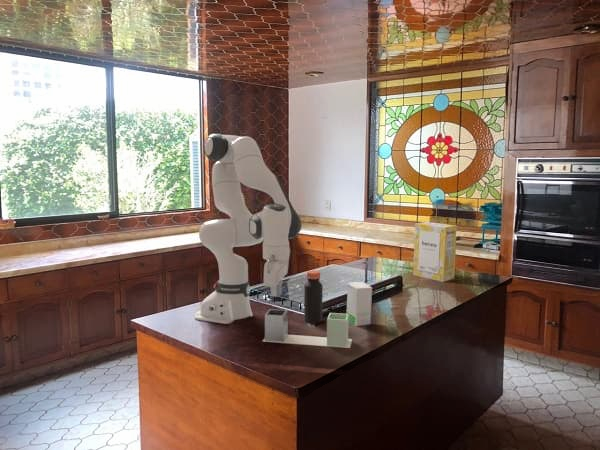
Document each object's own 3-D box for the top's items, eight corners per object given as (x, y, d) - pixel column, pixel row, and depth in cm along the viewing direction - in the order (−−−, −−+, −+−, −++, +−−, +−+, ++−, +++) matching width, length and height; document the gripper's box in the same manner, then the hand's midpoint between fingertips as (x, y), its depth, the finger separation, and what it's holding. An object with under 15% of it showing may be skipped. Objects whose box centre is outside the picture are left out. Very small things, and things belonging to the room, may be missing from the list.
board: (262, 344, 160) (262, 341, 159) (268, 336, 167) (267, 333, 167) (350, 351, 154) (350, 347, 154) (352, 342, 161) (352, 339, 161)
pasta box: (413, 275, 255) (415, 223, 251) (424, 272, 262) (426, 221, 258) (443, 281, 241) (445, 227, 237) (454, 278, 248) (456, 225, 244)
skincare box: (345, 322, 182) (346, 282, 179) (361, 320, 184) (361, 281, 182) (355, 329, 174) (356, 288, 172) (371, 327, 176) (372, 286, 174)
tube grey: (265, 340, 160) (264, 315, 159) (269, 333, 166) (269, 309, 165) (283, 342, 159) (283, 316, 157) (287, 335, 165) (287, 310, 164)
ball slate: (268, 296, 160) (267, 285, 159) (276, 294, 163) (276, 283, 162) (276, 299, 157) (276, 287, 157) (284, 296, 160) (284, 285, 160)
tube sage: (326, 345, 156) (327, 319, 155) (329, 338, 162) (329, 312, 161) (346, 346, 155) (346, 320, 153) (348, 339, 161) (348, 314, 160)
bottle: (311, 319, 185) (311, 269, 182) (325, 322, 181) (326, 271, 178) (300, 323, 180) (300, 272, 177) (314, 327, 175) (315, 275, 173)
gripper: (277, 259, 147) (278, 302, 149) (291, 247, 167) (291, 286, 169) (258, 258, 149) (259, 301, 150) (274, 247, 169) (274, 285, 170)
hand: (276, 293), depth 160 cm, fingers closed on ball slate, 4 cm apart
